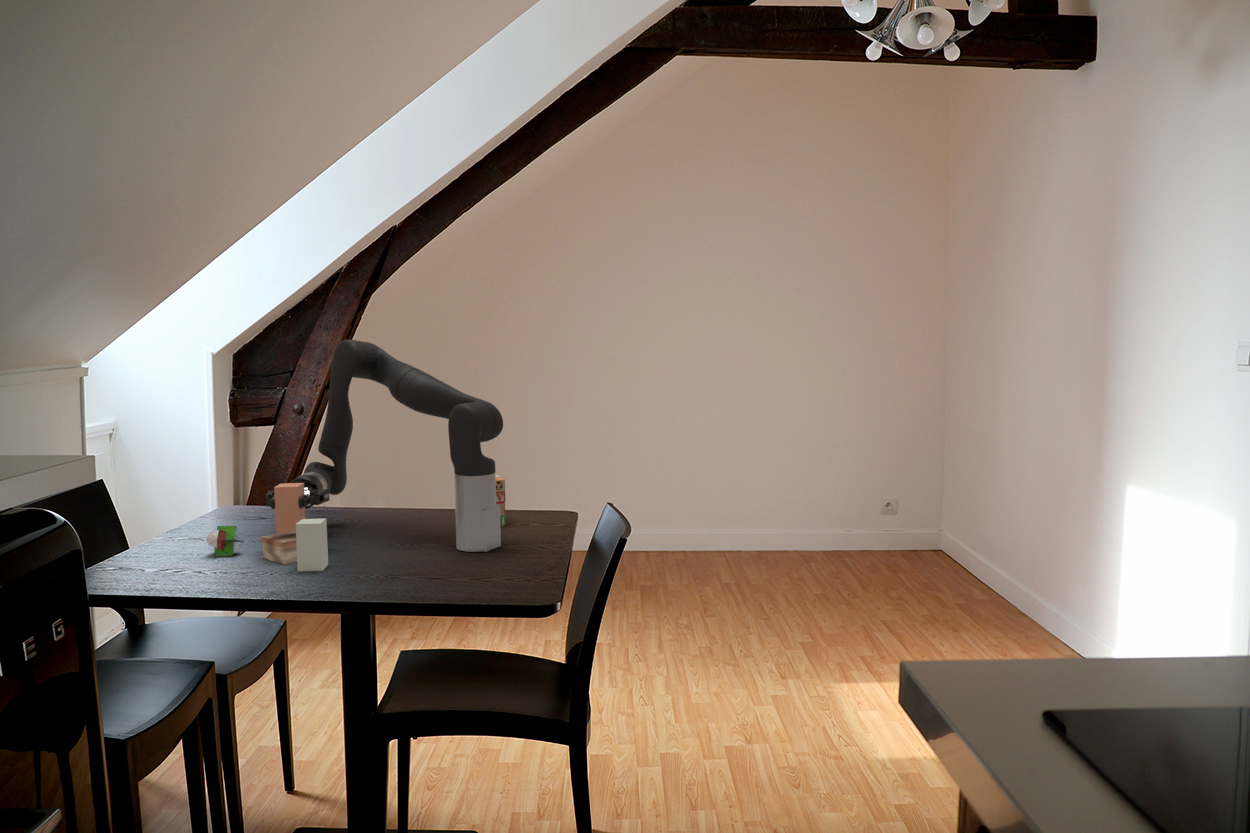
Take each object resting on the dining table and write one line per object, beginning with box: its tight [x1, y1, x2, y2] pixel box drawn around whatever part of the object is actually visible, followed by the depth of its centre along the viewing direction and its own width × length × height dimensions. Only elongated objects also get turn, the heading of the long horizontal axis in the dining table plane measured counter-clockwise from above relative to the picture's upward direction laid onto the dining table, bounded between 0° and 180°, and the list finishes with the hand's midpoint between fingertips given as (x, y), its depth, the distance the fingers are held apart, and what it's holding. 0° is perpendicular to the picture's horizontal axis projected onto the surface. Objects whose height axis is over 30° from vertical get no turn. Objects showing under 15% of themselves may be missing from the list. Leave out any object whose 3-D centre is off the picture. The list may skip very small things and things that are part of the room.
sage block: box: [296, 518, 329, 572], centre depth 192 cm, size 5×5×10 cm
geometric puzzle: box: [205, 525, 245, 557], centre depth 204 cm, size 7×7×8 cm
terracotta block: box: [273, 482, 307, 534], centre depth 201 cm, size 5×5×10 cm
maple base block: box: [260, 532, 297, 565], centre depth 201 cm, size 9×9×5 cm
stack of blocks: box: [496, 474, 507, 527], centre depth 239 cm, size 21×6×12 cm, turn 25°
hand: (286, 504), depth 198 cm, fingers open, 5 cm apart
